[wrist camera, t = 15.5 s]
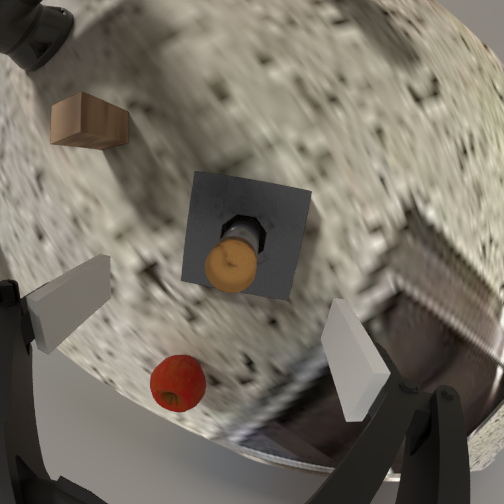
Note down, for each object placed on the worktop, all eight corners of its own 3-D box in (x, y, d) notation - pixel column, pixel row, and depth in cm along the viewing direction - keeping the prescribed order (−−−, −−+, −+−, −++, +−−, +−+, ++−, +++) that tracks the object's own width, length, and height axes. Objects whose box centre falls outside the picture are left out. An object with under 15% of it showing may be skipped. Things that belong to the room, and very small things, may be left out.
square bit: (101, 150, 34) (50, 144, 23) (101, 120, 33) (51, 106, 21) (128, 142, 34) (80, 131, 22) (127, 111, 33) (81, 91, 21)
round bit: (227, 243, 37) (202, 287, 22) (232, 214, 36) (208, 239, 21) (257, 249, 37) (251, 296, 22) (262, 220, 36) (260, 248, 21)
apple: (170, 331, 41) (146, 371, 31) (219, 351, 41) (207, 396, 31) (160, 366, 43) (138, 407, 33) (204, 384, 44) (191, 428, 33)
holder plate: (189, 271, 38) (181, 280, 34) (202, 172, 35) (195, 171, 31) (285, 288, 38) (287, 300, 34) (306, 190, 35) (311, 191, 31)
